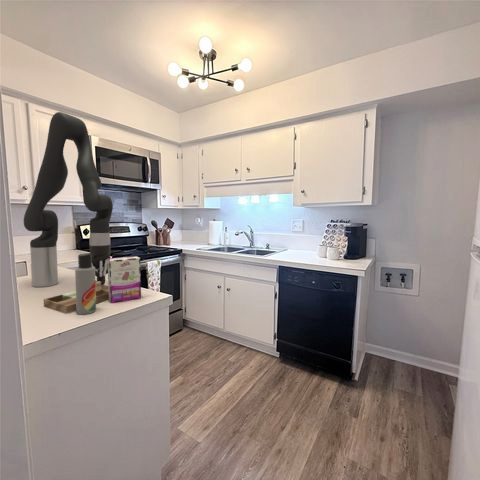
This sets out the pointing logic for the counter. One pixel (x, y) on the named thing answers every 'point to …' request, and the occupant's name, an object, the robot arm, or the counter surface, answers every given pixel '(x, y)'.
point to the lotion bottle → (85, 285)
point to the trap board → (73, 300)
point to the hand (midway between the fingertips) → (101, 284)
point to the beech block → (97, 285)
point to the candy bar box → (124, 279)
